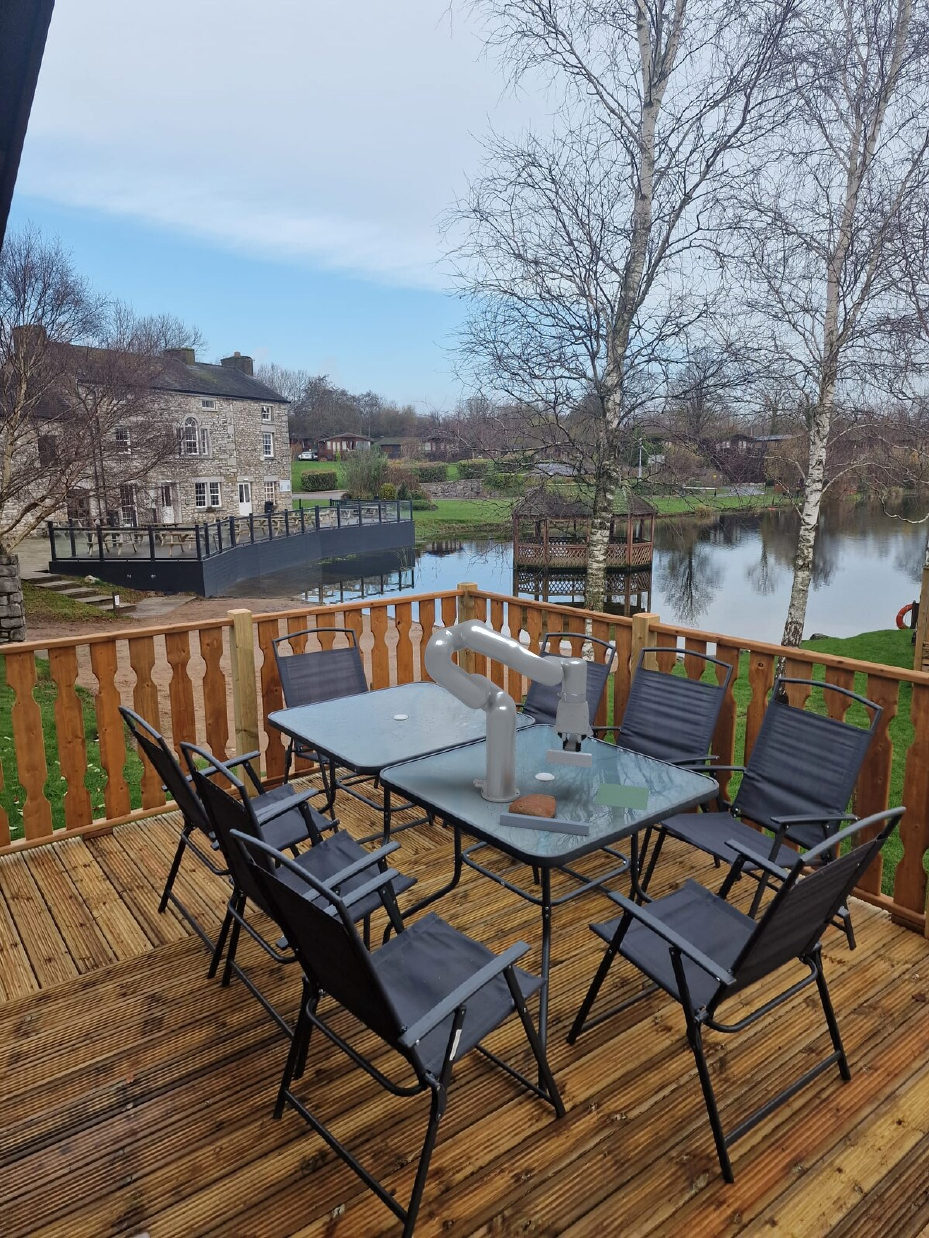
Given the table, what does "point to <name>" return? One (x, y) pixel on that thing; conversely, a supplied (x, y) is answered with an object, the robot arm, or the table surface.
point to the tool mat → (622, 796)
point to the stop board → (544, 823)
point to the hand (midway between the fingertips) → (571, 752)
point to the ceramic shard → (534, 806)
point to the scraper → (569, 755)
